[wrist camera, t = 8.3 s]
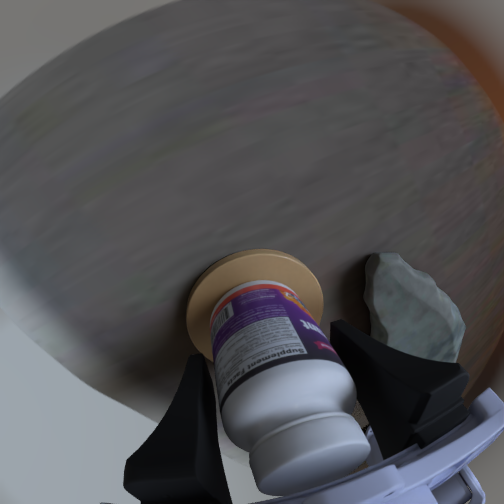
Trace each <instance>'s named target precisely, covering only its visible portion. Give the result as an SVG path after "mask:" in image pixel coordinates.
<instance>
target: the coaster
mask: <svg viewBox="0 0 504 504" xmlns="http://www.w3.org/2000/svg"><path fill="white" fill-rule="evenodd" d="M256 280H269V281H275V282H278V283H281V284H283V285H285V286H287V287H289V288H290V289H291V290H293V291H294V292H295V293H296V294H297V296H298V297H299V298H300V299H301V301H302V302H303V303H304V305H305V307H306V308H307V310H308V311H309V313H310V314H311V316H312V317H313V319H314V320H315V322H316V323H317V325H318V326H319V323H320V321H321V318H322V313H323V295H322V291H321V287H320V285H319V283H318V281H317V279H316V278H315V276H314V275H313V274H312V272H311V271H310V270H309V269H308V268H307V267H306V266H305V265H304V264H303V263H302V262H301V261H299V260H298V259H296V258H295V257H293V256H291V255H289V254H286V253H284V252H280V251H276V250H270V249H252V250H245V251H241V252H238V253H234V254H232V255H229V256H227V257H225V258H223V259H221V260H219V261H218V262H216V263H215V264H213V265H212V266H211V267H209V268H208V269H207V270H206V271H205V272H204V273H203V274H202V275H201V276H200V278H199V279H198V280H197V281H196V283H195V285H194V286H193V288H192V290H191V293H190V295H189V298H188V302H187V308H186V324H187V330H188V334H189V336H190V338H191V340H192V342H193V344H194V345H195V347H196V348H197V349H198V350H199V351H200V353H203V355H204V356H205V357H206V358H208V359H209V360H211V361H212V362H213V354H212V346H211V337H210V319H211V315H212V312H213V310H214V308H215V306H216V304H217V303H218V302H219V300H220V299H221V298H222V297H223V296H224V295H225V294H226V293H227V292H229V291H230V290H232V289H233V288H235V287H237V286H239V285H241V284H244V283H247V282H251V281H256Z"/></svg>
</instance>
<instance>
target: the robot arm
mask: <svg viewBox="0 0 504 504" xmlns="http://www.w3.org/2000/svg"><path fill="white" fill-rule="evenodd" d="M330 344H331V346H332V347H333V349H334V350H335V352H336V353H337V355H338V356H339V358H340V359H341V361H342V362H343V364H344V366H345V367H346V369H347V370H348V372H349V374H350V375H351V377H352V379H353V381H354V383H355V386H356V391H357V400H358V401H359V403H360V405H361V407H362V409H363V411H364V413H365V415H366V417H367V420H368V422H369V424H370V426H369V427H368V428H367V430H366V433H365V437H366V439H367V441H368V442H369V444H370V453H369V455H368V457H367V458H366V462H367V464H368V466H369V467H368V468H366V469H364V470H361V471H359V472H356V473H354V474H351V475H349V476H346V477H344V478H341V479H338V480H336V481H333V482H330V483H327V484H324V485H321V486H318V487H315V488H312V489H308V490H305V491H302V492H298V493H294V494H291V495H287V496H283V497H279V498H275V499H270V500H266V501H261V502H255V503H251V504H465V503H466V502H467V501H469V500H470V499H471V500H470V502H469V504H485V502H486V500H485V497H486V495H485V493H484V492H483V490H482V489H481V485H480V484H479V482H478V480H477V479H476V477H475V476H474V474H473V473H472V472H471V470H470V469H469V467H468V466H467V464H468V463H469V462H471V461H472V460H473V459H474V458H475V457H477V456H478V455H479V454H480V453H481V452H482V451H484V450H485V449H486V448H487V447H488V446H489V445H490V444H491V443H493V442H494V440H495V439H496V438H497V437H498V436H499V435H500V434H501V432H502V431H503V430H504V403H503V402H502V401H501V399H500V398H499V397H498V396H497V395H496V394H495V393H494V392H493V391H492V390H491V389H490V388H488V389H487V390H486V391H484V392H483V393H482V394H480V395H479V396H478V397H477V398H476V399H475V400H474V401H473V402H472V404H471V405H470V407H469V409H468V410H467V409H466V407H465V406H464V405H463V404H462V403H463V402H464V399H463V398H462V397H461V395H462V393H463V391H464V389H465V387H466V385H467V383H468V381H469V374H468V372H467V371H466V370H465V369H464V368H463V367H462V366H461V365H460V364H459V363H451V362H441V361H435V360H429V359H425V358H421V357H417V356H413V355H410V354H407V353H404V352H402V351H399V350H397V349H394V348H392V347H390V346H387V345H385V344H383V343H381V342H379V341H377V340H376V339H374V338H372V337H370V336H368V335H367V334H365V333H363V332H362V331H360V330H358V329H357V328H355V327H353V326H352V325H350V324H349V323H347V322H345V321H344V320H342V319H340V320H337V321H334V322H330ZM458 472H459V473H458ZM467 485H468V487H469V488H470V490H471V491H472V493H471V491H470V490H469V488H468V487H467ZM123 486H124V488H125V490H126V491H128V492H129V493H130V494H131V495H133V496H134V497H136V498H137V499H138V500H140V501H141V504H232V500H231V496H230V492H229V489H228V484H227V481H226V476H225V472H224V467H223V463H222V458H221V453H220V448H219V442H218V432H217V417H216V401H215V394H214V388H213V382H212V379H211V376H210V373H209V370H208V367H207V365H206V362H205V359H204V356H203V353H200V354H194V355H190V356H189V358H188V362H187V365H186V368H185V371H184V374H183V377H182V380H181V382H180V385H179V387H178V390H177V392H176V394H175V396H174V398H173V401H172V403H171V405H170V406H169V408H168V410H167V412H166V413H165V415H164V417H163V418H162V420H161V421H160V423H159V424H158V426H157V427H156V429H155V430H154V431H153V433H152V434H151V435H150V436H149V437H148V439H147V440H146V441H145V442H144V443H143V444H142V445H141V447H140V448H139V449H138V450H137V451H135V452H134V453H133V454H132V455H131V456H130V457H129V458H128V459H127V460H126V465H125V470H124V482H123ZM100 504H111V503H100Z"/></svg>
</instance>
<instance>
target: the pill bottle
mask: <svg viewBox="0 0 504 504" xmlns="http://www.w3.org/2000/svg"><path fill="white" fill-rule="evenodd" d="M210 337H211V346H212V354H213V362H214V370H215V378H216V386H217V394H218V399H219V407H220V413H221V418H222V423H223V427H224V430H225V433H226V434H227V436H228V438H229V439H230V440H231V441H232V442H233V443H234V444H235V445H236V446H238V447H239V448H241V449H243V450H245V451H247V452H250V454H249V458H250V460H249V464H250V467H251V470H252V473H253V476H254V479H255V482H256V485H257V487H258V489H259V491H260V492H262V493H264V494H267V495H272V496H287V495H291V494H294V493H298V492H302V491H305V490H308V489H312V488H315V487H318V486H321V485H324V484H327V483H330V482H333V481H336V480H338V479H341V478H343V477H345V476H346V475H348V474H349V473H351V472H352V471H354V470H355V469H356V468H357V467H359V466H360V465H361V464H362V463H363V462H364V461H365V460H366V458H367V457H368V455H369V453H370V444H369V442H368V441H367V439H366V437H365V435H364V433H363V431H362V430H361V428H360V426H359V424H358V423H357V422H356V421H355V419H354V418H353V417H352V416H351V414H352V412H353V410H354V407H355V404H356V399H357V391H356V386H355V383H354V381H353V379H352V377H351V375H350V374H349V372H348V370H347V369H346V367H345V366H344V364H343V362H342V361H341V359H340V358H339V356H338V355H337V353H336V352H335V350H334V349H333V347H332V346H331V344H330V343H329V341H328V340H327V338H326V337H325V335H324V334H323V332H322V331H321V329H320V328H319V326H318V325H317V323H316V322H315V320H314V319H313V317H312V316H311V314H310V313H309V311H308V310H307V308H306V307H305V305H304V303H303V302H302V301H301V299H300V298H299V297H298V296H297V294H296V293H295V292H294V291H293V290H291V289H290V288H289V287H287V286H285V285H283V284H281V283H278V282H275V281H269V280H256V281H251V282H247V283H244V284H241V285H239V286H237V287H235V288H233V289H232V290H230V291H229V292H227V293H226V294H225V295H224V296H223V297H222V298H221V299H220V300H219V302H218V303H217V304H216V306H215V308H214V310H213V312H212V315H211V319H210Z"/></svg>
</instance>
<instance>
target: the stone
mask: <svg viewBox="0 0 504 504" xmlns="http://www.w3.org/2000/svg"><path fill="white" fill-rule="evenodd" d="M365 275H366V287H365V291H364V295H363V299H364V301H365V302H366V304H367V306H368V308H369V310H370V322H371V334H370V337H372V338H374V339H376V340H377V341H379V342H381V343H383V344H385V345H387V346H390V347H392V348H394V349H397V350H399V351H402V352H404V353H407V354H410V355H413V356H417V357H421V358H425V359H429V360H435V361H441V362H451V363H455V362H456V359H457V357H458V353H459V349H460V346H461V342H462V338H463V335H464V332H465V329H466V326H465V325H464V322H463V320H462V318H461V316H460V312H459V310H458V308H457V307H456V305H455V304H454V303H453V302H452V301H451V299H450V298H449V296H448V295H447V294H446V293H445V292H443V291H442V290H440V289H439V288H438V287H437V286H436V284H435V281H434V280H433V279H432V278H431V277H430V276H429V275H428V274H427V273H425V272H422V271H419V270H415V269H413V268H412V267H411V266H410V265H408V264H407V263H406V262H405V261H403V260H402V258H401V257H400V256H399V254H398V253H396V252H384V253H379V252H375V253H373V254H372V255H371V256H370V258H369V259H368V261H367V263H366V265H365Z"/></svg>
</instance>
